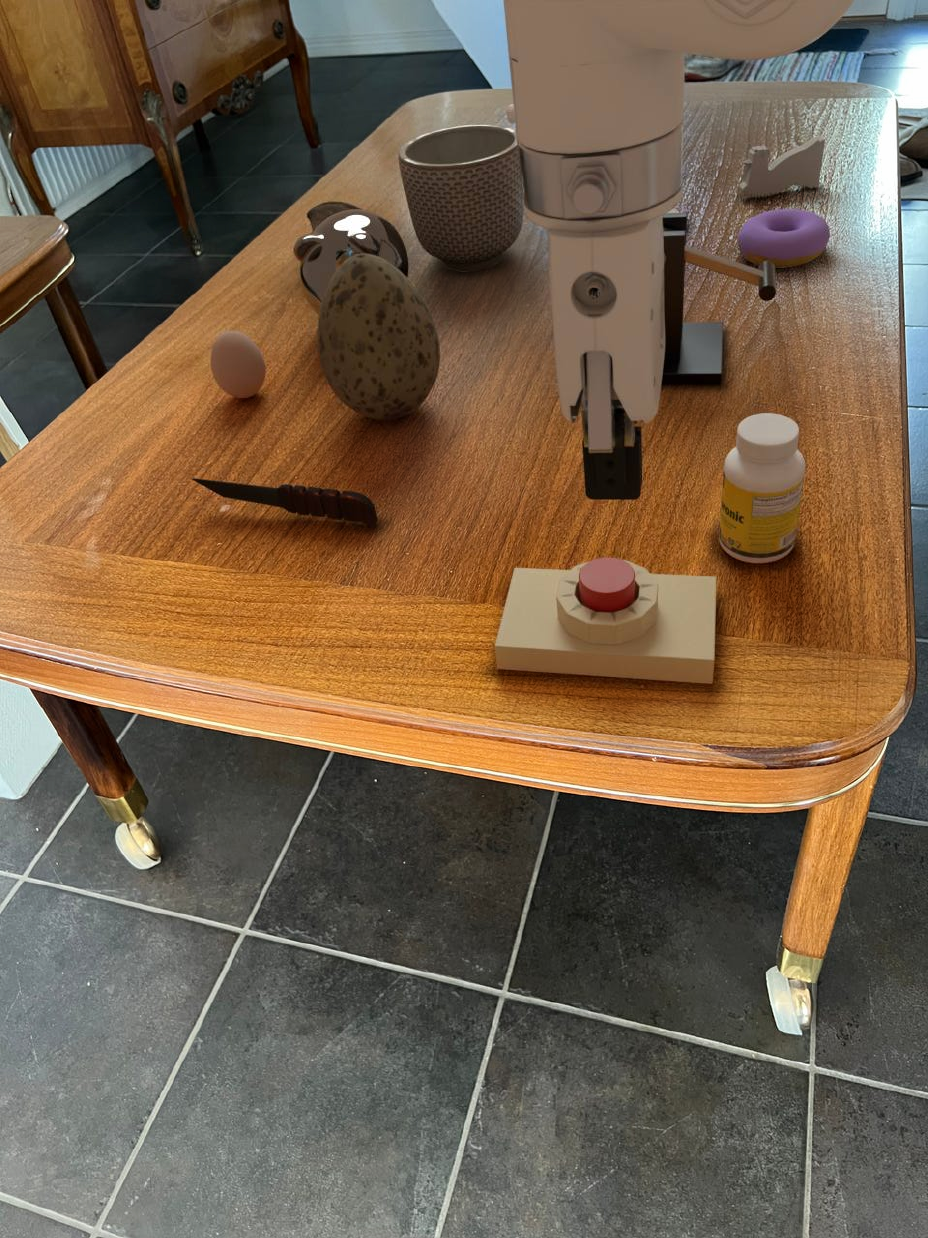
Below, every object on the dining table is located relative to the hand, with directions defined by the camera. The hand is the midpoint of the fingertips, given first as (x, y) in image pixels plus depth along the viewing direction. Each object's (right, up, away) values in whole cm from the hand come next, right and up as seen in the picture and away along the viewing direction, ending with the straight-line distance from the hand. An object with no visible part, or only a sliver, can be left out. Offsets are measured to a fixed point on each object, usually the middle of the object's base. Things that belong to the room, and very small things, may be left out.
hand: (614, 491), depth 57 cm
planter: (-8, +35, +57) cm, 67 cm away
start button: (0, -6, +6) cm, 8 cm away
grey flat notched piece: (+30, +45, +61) cm, 81 cm away
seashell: (-23, +37, +61) cm, 75 cm away
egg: (-31, +15, +39) cm, 52 cm away
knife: (-24, +1, +23) cm, 33 cm away
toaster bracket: (+10, +17, +35) cm, 40 cm away
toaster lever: (+12, +23, +28) cm, 39 cm away
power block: (+1, -9, +8) cm, 12 cm away
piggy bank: (-20, +25, +48) cm, 57 cm away
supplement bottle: (+13, -2, +14) cm, 19 cm away
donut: (+26, +32, +48) cm, 64 cm away
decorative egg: (-16, +12, +33) cm, 39 cm away
